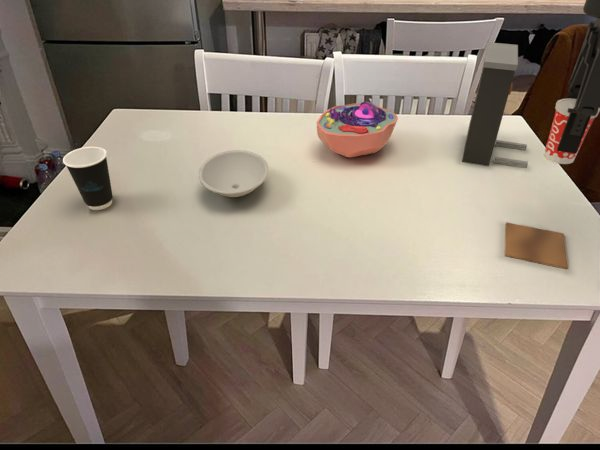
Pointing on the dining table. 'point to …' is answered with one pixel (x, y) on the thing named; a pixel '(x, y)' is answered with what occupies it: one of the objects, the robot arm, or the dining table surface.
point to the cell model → (356, 128)
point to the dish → (233, 172)
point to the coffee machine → (492, 107)
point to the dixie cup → (90, 175)
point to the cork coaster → (535, 245)
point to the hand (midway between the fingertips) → (565, 141)
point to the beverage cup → (557, 132)
